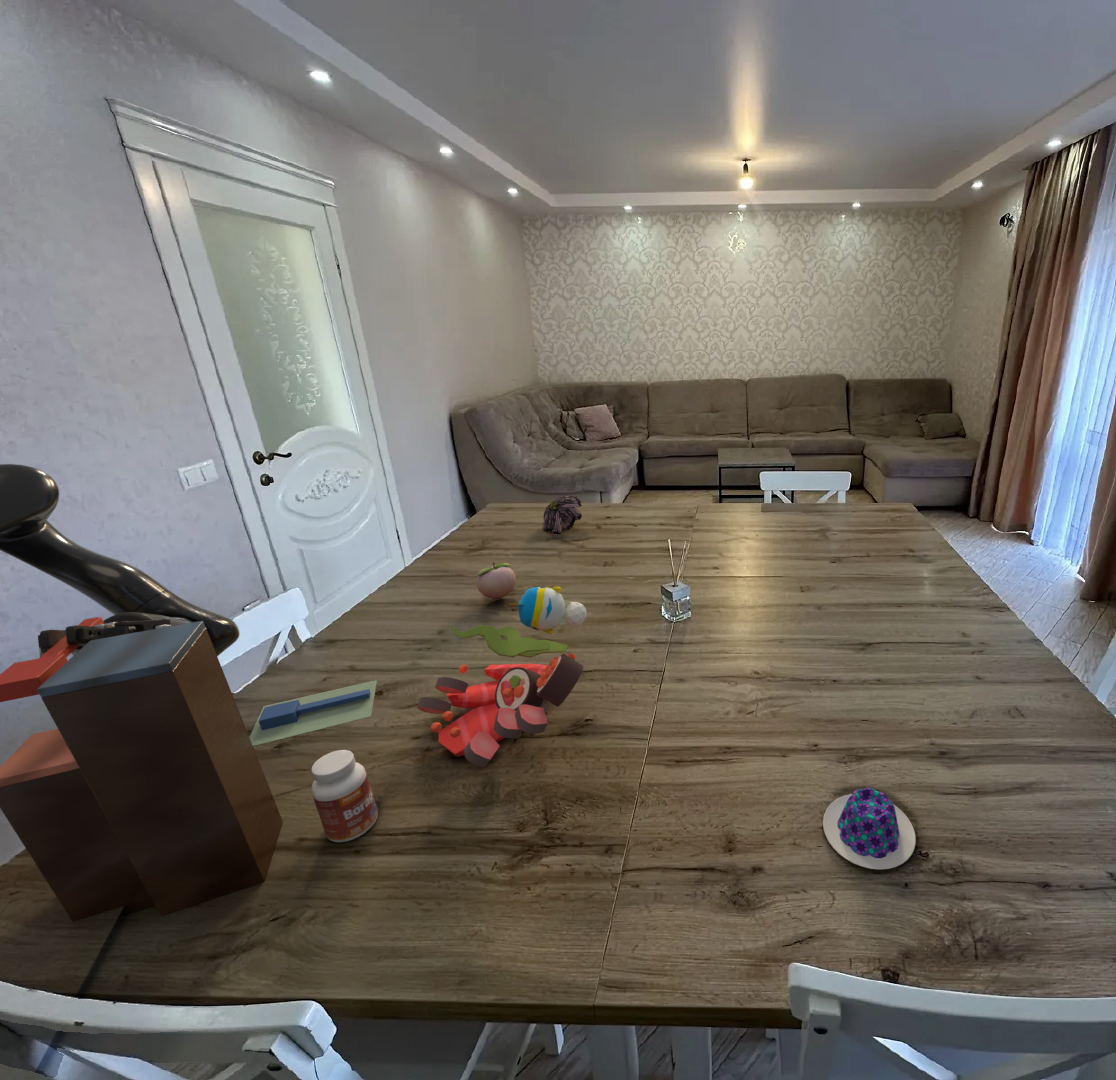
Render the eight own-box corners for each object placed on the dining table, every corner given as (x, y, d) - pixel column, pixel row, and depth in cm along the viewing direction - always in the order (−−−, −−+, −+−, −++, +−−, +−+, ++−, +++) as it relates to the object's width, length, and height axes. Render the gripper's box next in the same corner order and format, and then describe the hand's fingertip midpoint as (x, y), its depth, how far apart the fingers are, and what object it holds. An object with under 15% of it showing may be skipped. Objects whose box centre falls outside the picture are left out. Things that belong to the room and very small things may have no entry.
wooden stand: (67, 947, 63) (-86, 713, 51) (111, 873, 71) (-12, 658, 60) (264, 881, 70) (169, 663, 58) (283, 821, 78) (203, 620, 67)
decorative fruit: (495, 611, 135) (489, 573, 131) (474, 603, 139) (467, 566, 135) (526, 595, 142) (521, 559, 139) (505, 588, 146) (499, 553, 143)
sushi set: (585, 776, 87) (409, 774, 75) (542, 739, 112) (406, 733, 101) (615, 592, 92) (456, 565, 81) (568, 598, 118) (442, 577, 107)
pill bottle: (356, 847, 74) (334, 782, 70) (315, 841, 75) (291, 777, 71) (389, 809, 80) (370, 747, 76) (350, 804, 81) (330, 743, 77)
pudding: (832, 788, 83) (834, 760, 81) (917, 811, 78) (922, 782, 77) (814, 855, 72) (816, 825, 70) (911, 886, 68) (916, 855, 66)
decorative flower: (528, 499, 186) (570, 481, 190) (540, 525, 194) (580, 507, 198) (540, 523, 176) (584, 503, 181) (552, 549, 184) (594, 529, 189)
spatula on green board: (244, 750, 92) (244, 748, 92) (264, 707, 102) (263, 706, 102) (371, 718, 99) (370, 716, 99) (377, 681, 109) (376, 679, 109)
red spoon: (-8, 704, 57) (-18, 687, 57) (76, 631, 71) (69, 617, 70) (46, 693, 59) (37, 677, 58) (118, 624, 72) (112, 610, 72)
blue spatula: (267, 716, 99) (264, 707, 98) (371, 691, 105) (369, 682, 104) (261, 730, 96) (258, 720, 95) (369, 704, 102) (367, 694, 101)
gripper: (76, 625, 78) (-31, 618, 62) (201, 604, 84) (132, 593, 68) (82, 679, 77) (-25, 685, 61) (207, 654, 83) (139, 654, 67)
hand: (58, 637), depth 65 cm, fingers closed on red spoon, 1 cm apart
